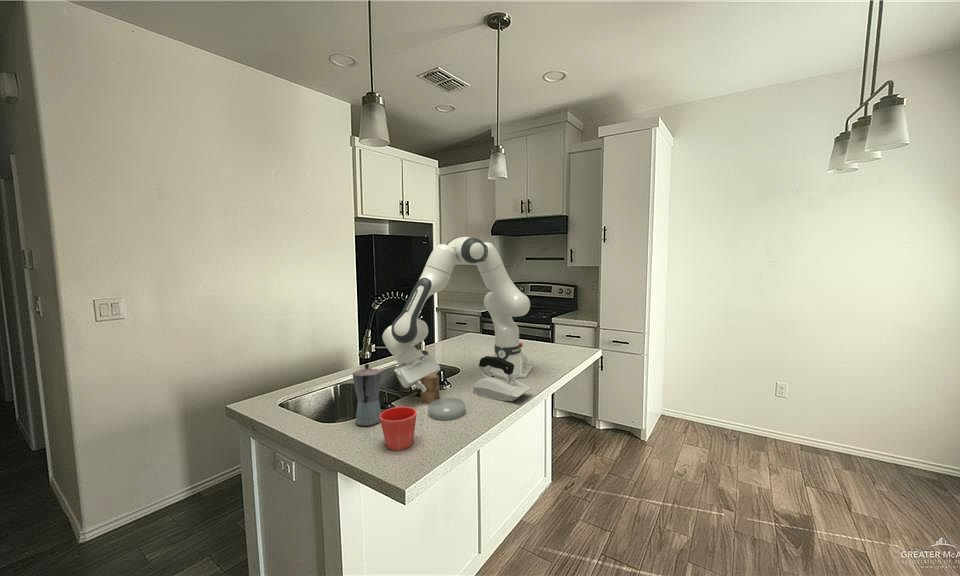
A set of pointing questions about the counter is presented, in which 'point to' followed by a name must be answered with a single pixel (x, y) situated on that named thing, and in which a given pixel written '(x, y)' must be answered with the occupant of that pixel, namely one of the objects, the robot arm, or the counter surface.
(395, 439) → the flower pot
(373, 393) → the moka pot
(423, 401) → the walnut block
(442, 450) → the counter surface
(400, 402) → the counter surface
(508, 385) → the iron
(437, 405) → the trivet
